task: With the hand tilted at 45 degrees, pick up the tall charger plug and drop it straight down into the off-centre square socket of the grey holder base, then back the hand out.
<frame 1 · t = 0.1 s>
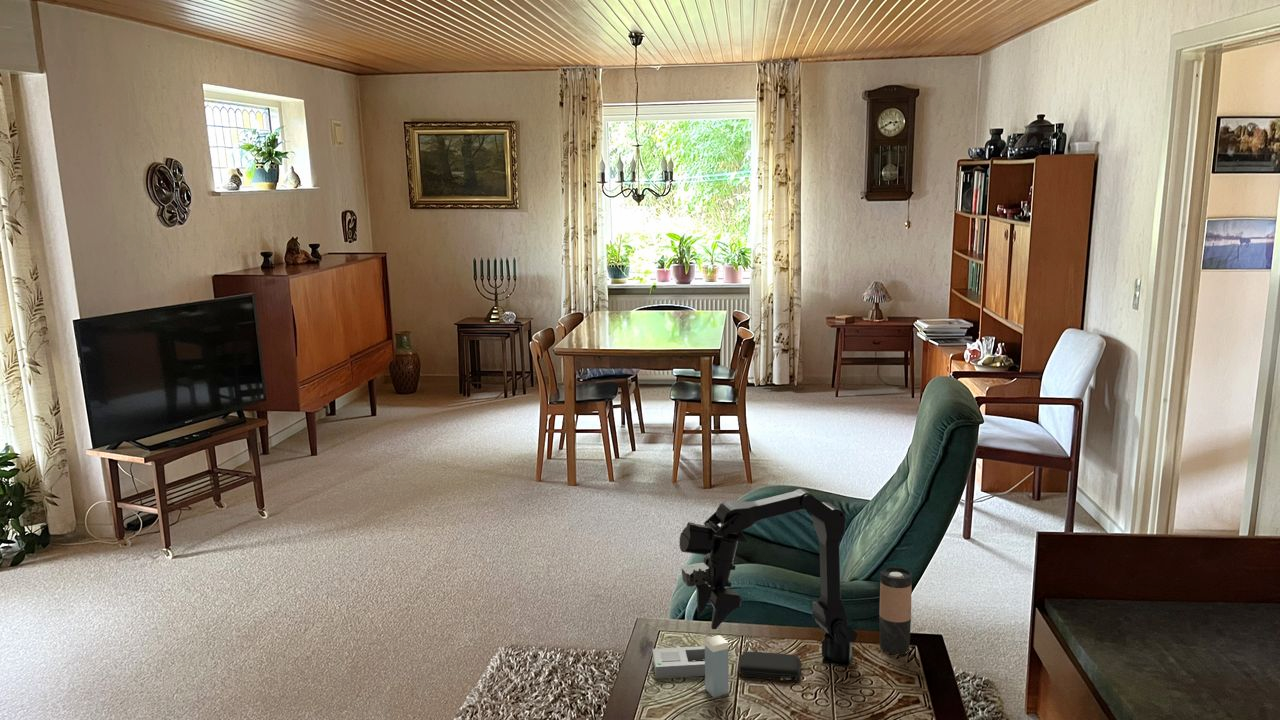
hand: (706, 620, 205), 15 cm above the table, tool pointing down, fingers open, 9 cm apart
charger plug: (716, 691, 203), on the table
travel mug: (894, 648, 222), on the table
grey holder base: (699, 666, 215), on the table
carrying case or bag: (769, 673, 212), on the table
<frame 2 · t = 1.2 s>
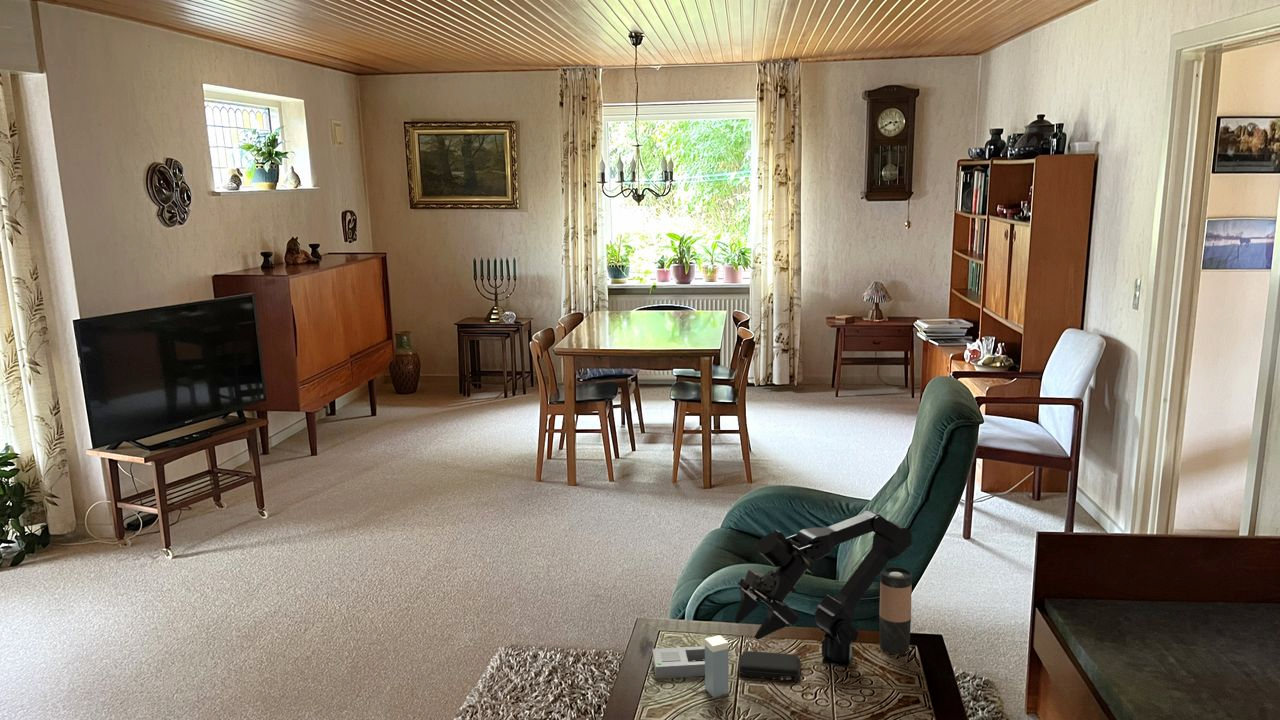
hand: (745, 630, 205), 13 cm above the table, tool tilted 45°, fingers open, 9 cm apart
nothing on the table moved.
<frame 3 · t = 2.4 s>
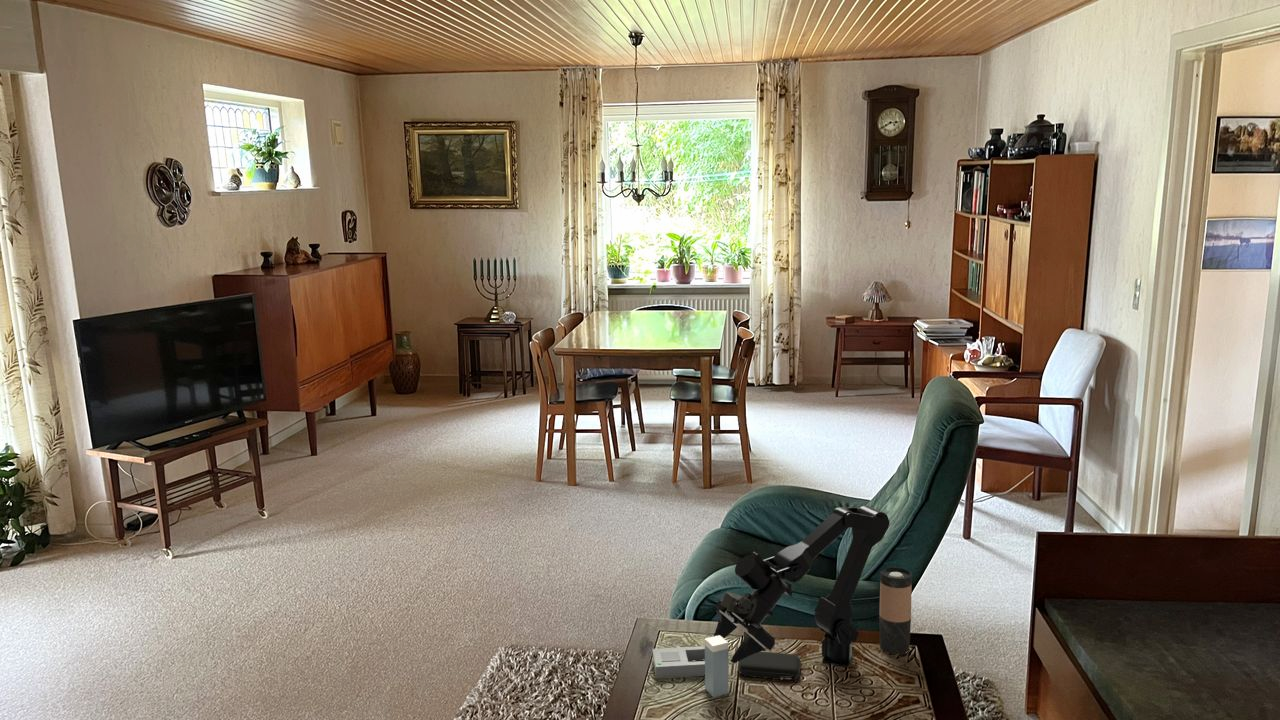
hand: (722, 653, 203), 9 cm above the table, tool tilted 45°, fingers open, 9 cm apart
nothing on the table moved.
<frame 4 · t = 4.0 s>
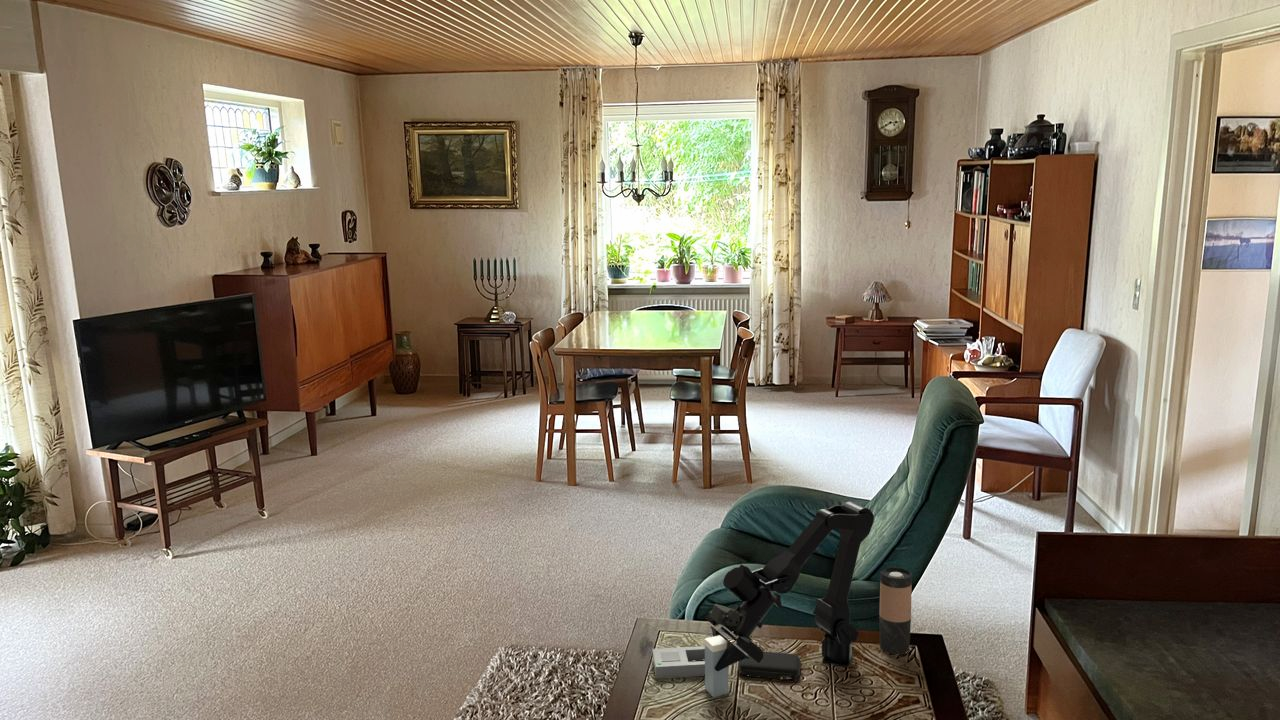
hand: (711, 665, 202), 7 cm above the table, tool tilted 45°, fingers closed on charger plug, 4 cm apart
charger plug: (716, 691, 203), on the table, touching gripper
everything else where it was.
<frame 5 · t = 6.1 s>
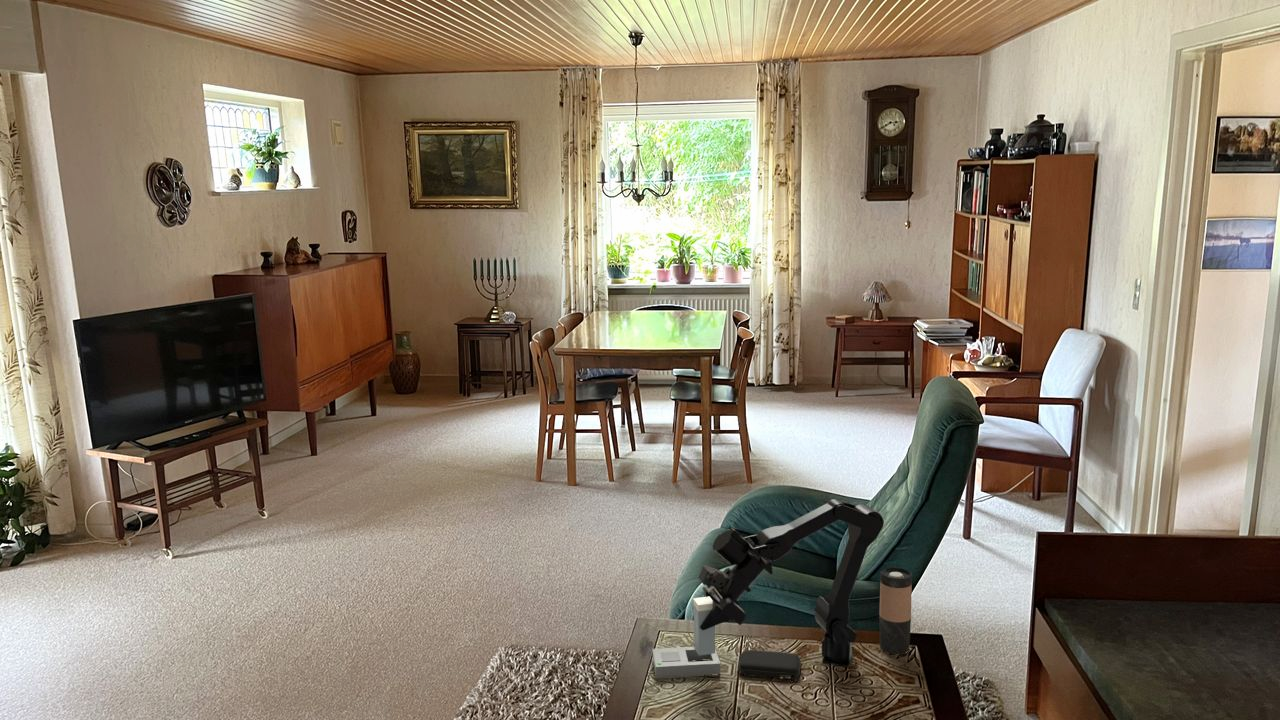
hand: (698, 625, 207), 13 cm above the table, tool tilted 45°, fingers closed on charger plug, 4 cm apart
charger plug: (704, 650, 209), point 7 cm above the table, touching gripper
everything else where it was.
when the fingers open (8 cm above the table, at t = 8.2 s): charger plug drops 1 cm, resting in grey holder base.
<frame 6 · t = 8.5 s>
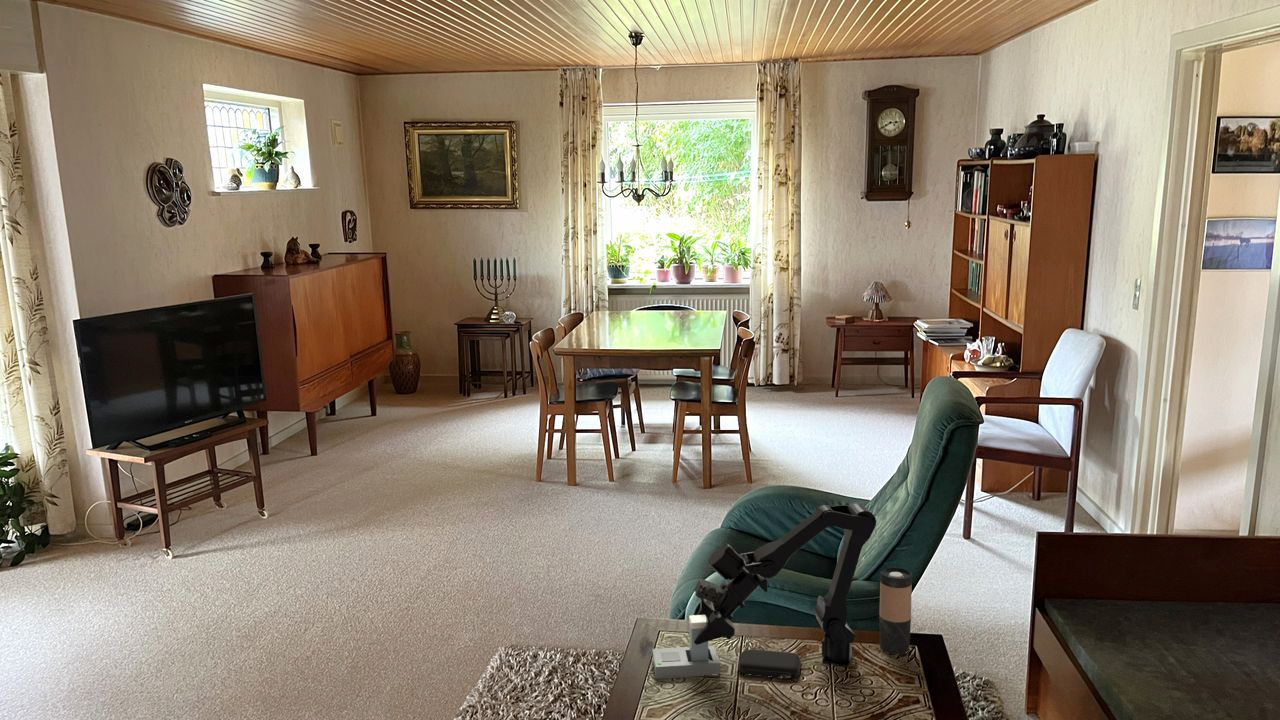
hand: (693, 636, 213), 8 cm above the table, tool tilted 45°, fingers open, 7 cm apart
charger plug: (699, 666, 215), resting in grey holder base
everything else where it was.
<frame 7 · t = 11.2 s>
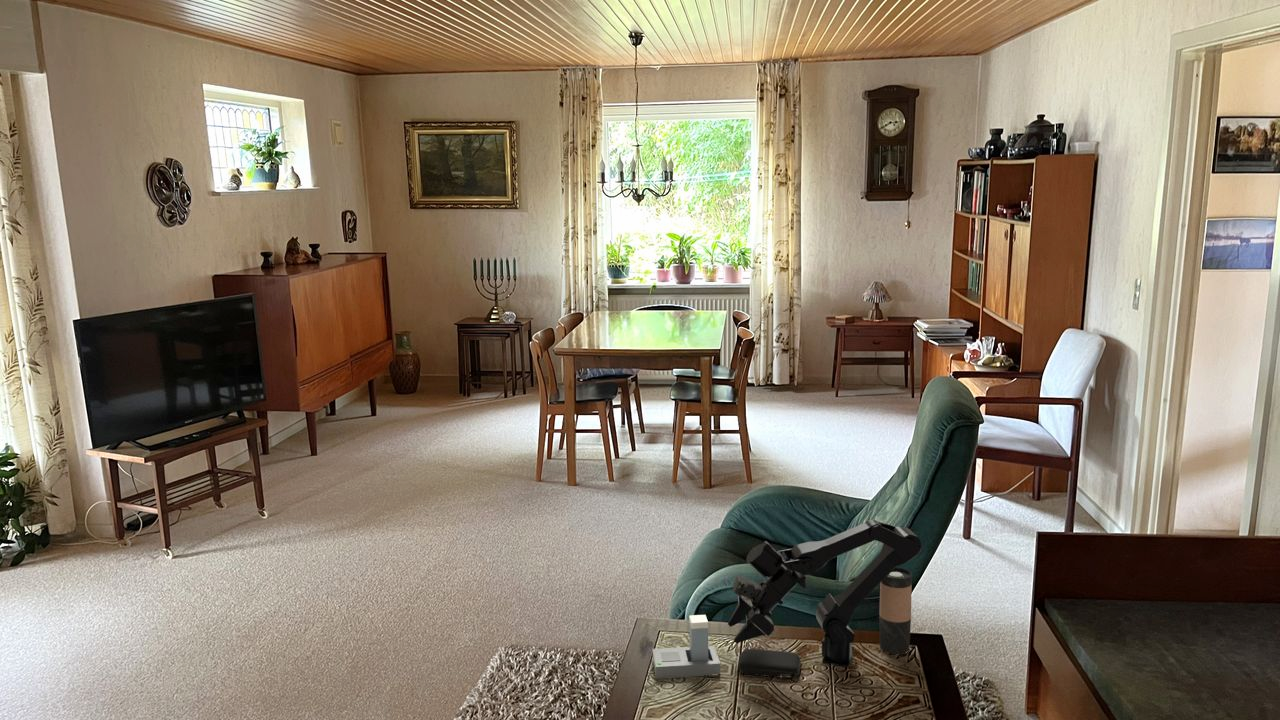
hand: (731, 633, 214), 8 cm above the table, tool tilted 45°, fingers open, 9 cm apart
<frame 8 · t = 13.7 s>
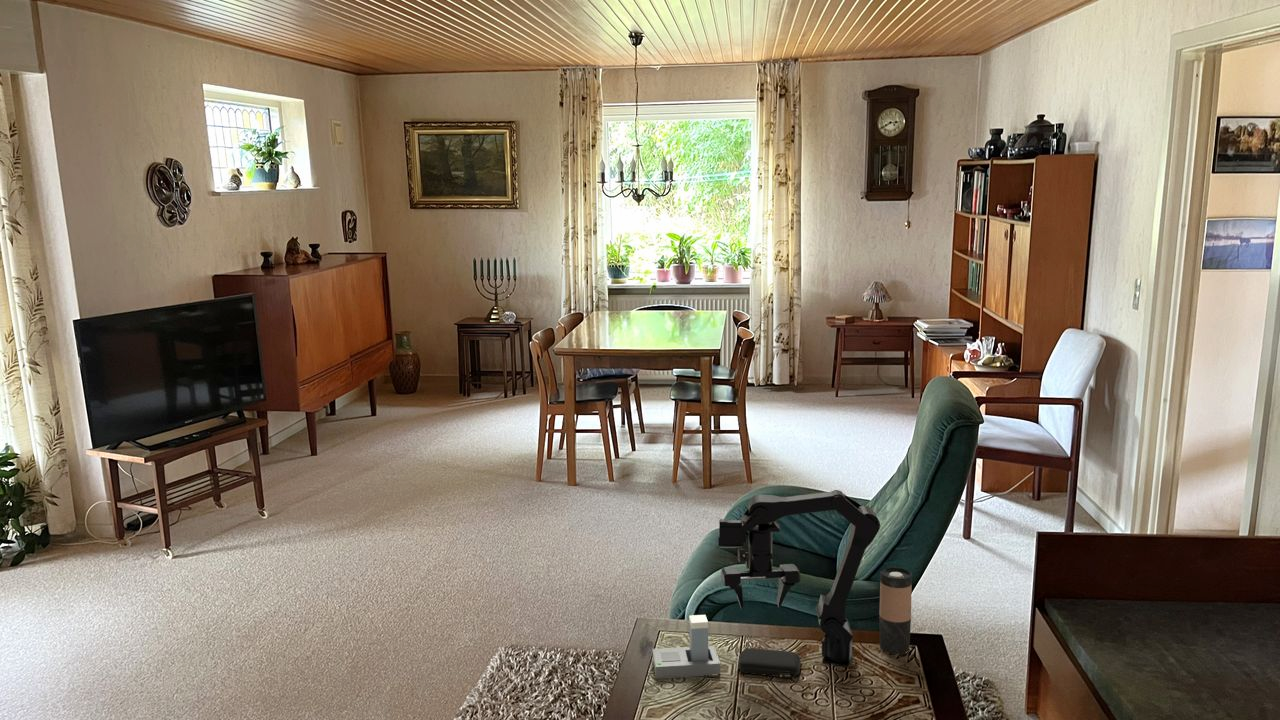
hand: (760, 607, 217), 13 cm above the table, tool pointing down, fingers open, 9 cm apart
at the end: charger plug 0.0 cm from the target spot, resting in grey holder base; charger plug tilted 0°; the gripper is holding nothing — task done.
